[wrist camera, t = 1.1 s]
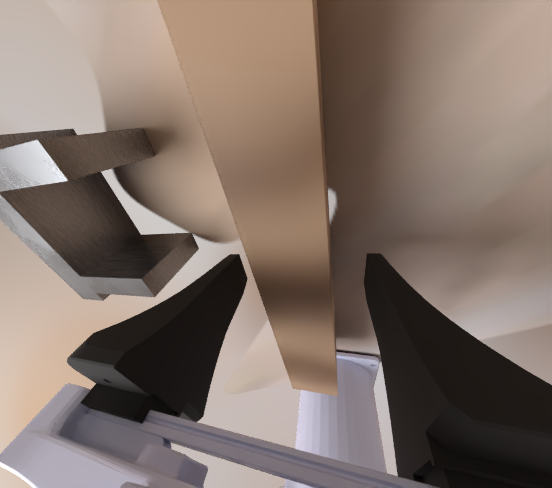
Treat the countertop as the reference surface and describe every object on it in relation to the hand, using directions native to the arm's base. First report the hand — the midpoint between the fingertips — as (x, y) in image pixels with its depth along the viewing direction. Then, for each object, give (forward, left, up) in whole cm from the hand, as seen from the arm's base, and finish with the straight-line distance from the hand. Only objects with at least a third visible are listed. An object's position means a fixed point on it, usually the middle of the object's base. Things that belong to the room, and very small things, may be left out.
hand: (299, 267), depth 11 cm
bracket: (+4, +11, -3) cm, 12 cm away
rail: (0, 0, -3) cm, 3 cm away
